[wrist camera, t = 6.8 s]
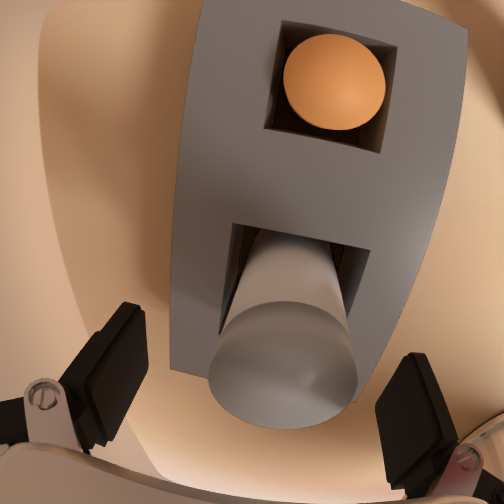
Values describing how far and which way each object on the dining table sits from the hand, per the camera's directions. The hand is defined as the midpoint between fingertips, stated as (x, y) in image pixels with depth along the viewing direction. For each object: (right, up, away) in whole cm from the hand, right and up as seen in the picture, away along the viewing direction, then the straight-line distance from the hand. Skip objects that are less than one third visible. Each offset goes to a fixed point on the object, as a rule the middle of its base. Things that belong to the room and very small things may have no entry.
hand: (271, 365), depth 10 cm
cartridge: (+2, +4, +9) cm, 10 cm away
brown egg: (+3, +12, +5) cm, 14 cm away
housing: (+2, +6, +8) cm, 11 cm away
